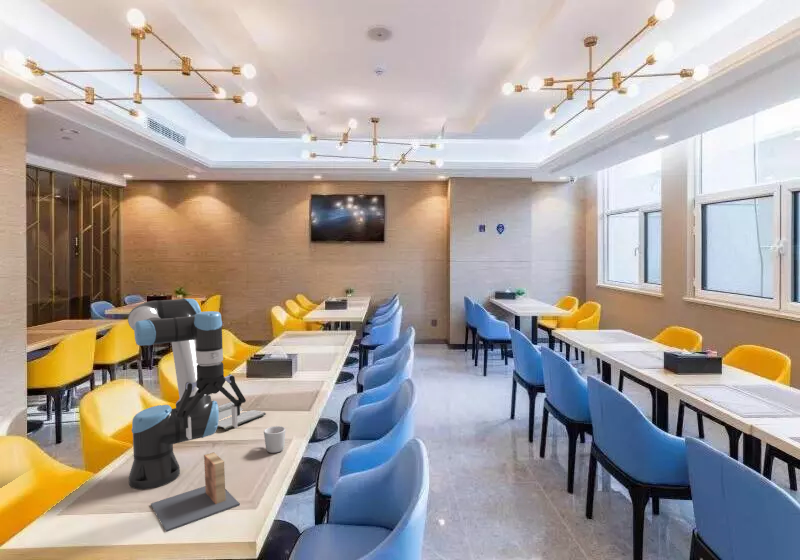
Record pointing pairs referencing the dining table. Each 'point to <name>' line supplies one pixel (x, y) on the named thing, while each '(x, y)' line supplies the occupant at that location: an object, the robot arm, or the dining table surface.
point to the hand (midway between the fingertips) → (212, 432)
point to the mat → (243, 417)
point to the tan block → (214, 477)
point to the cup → (274, 439)
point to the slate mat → (190, 508)
